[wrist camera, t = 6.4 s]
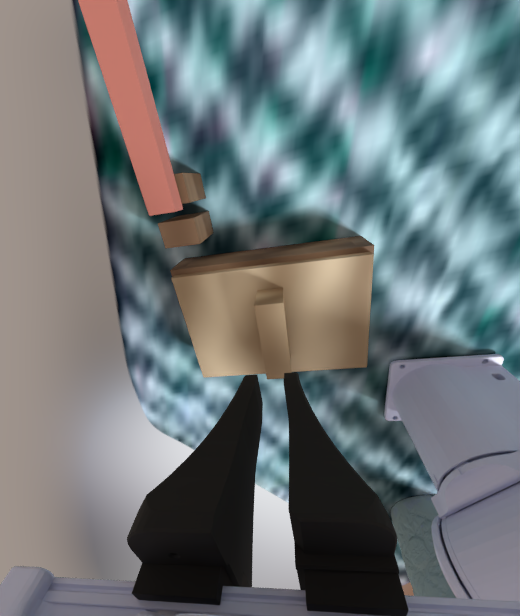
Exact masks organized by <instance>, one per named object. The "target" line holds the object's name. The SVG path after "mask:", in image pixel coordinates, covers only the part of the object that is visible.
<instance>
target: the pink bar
mask: <svg viewBox="0 0 520 616" xmlns="http://www.w3.org/2000/svg"><path fill="white" fill-rule="evenodd" d="M78 1H79V4H80V7H81V10H82V13H83V16H84V19H85V22H86V25H87V28H88V32H89V35H90V38H91V41H92V44H93V47H94V50H95V53H96V56H97V59H98V62H99V65H100V68H101V71H102V74H103V77H104V80H105V83H106V86H107V89H108V92H109V95H110V98H111V101H112V104H113V107H114V110H115V113H116V117H117V120H118V123H119V126H120V129H121V132H122V135H123V138H124V141H125V144H126V147H127V150H128V153H129V156H130V159H131V162H132V165H133V168H134V171H135V174H136V177H137V180H138V183H139V186H140V189H141V192H142V195H143V198H144V201H145V205H146V208H147V211H148V214H149V216H151V215H158V214H164V213H171V212H176V211H179V210H183V207H182V203H181V199H180V195H179V192H178V188H177V184H176V181H175V177H174V173H173V169H172V166H171V162H170V158H169V154H168V151H167V147H166V143H165V140H164V136H163V132H162V128H161V125H160V121H159V117H158V113H157V110H156V106H155V102H154V98H153V95H152V91H151V87H150V84H149V80H148V76H147V72H146V69H145V65H144V61H143V57H142V54H141V50H140V46H139V43H138V39H137V35H136V31H135V28H134V24H133V20H132V16H131V13H130V9H129V5H128V1H127V0H78Z"/></svg>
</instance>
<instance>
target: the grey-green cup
mask: <svg viewBox="0 0 520 616" xmlns="http://www.w3.org/2000/svg"><path fill="white" fill-rule="evenodd" d="M431 497H433V496H431V495H426V496H424V495H422V496H415V497H410V498H407V499H404V500H401V501H399V502H398V503H396V504H395V505H394V506H393V507H392V509H391V518H392V522H393V525H394V529H395V532H396V535H397V539H398V542H399V545H400V548H401V553H402V557H403V560H404V563H405V568H406V571H407V575H408V578H409V580H410V582H411V585H412V587H413V593H414V596H425V597H444V598H456V596H455V595H454V593H453V591H452V590H451V588H450V586H449V584H448V582H447V580H446V578H445V576H444V574H443V572H442V570H441V567H440V565H439V562H438V559H437V556H436V553H435V549H434V544H433V539H432V529H431V526H432V521H433V519H434V518H435V517H436V516H437V515H438V513H437V510H436V508H435V506H434V504H433V502H432V500H431Z"/></svg>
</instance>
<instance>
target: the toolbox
mask: <svg viewBox="0 0 520 616" xmlns="http://www.w3.org/2000/svg"><path fill="white" fill-rule="evenodd" d="M174 177H175V181H176V184H177V188H178V192H179V195H180V199H181V203H182V204H184V203H190V202H194V201H197V200H201V199H205V198H206V197H205V192H204V188H203V184H202V179H201V175H200V174H196V173H178V174H174ZM158 226H159V229H160V232H161V235H162V239H163V242H164V245H165V248H173V247H180V246H188V245H195V244H201V243H202V242H203V241H204V240H205V239H207V238H208V237H209V236H210V235H212V234H213V233H214V232H213V228H212V224H211V219H210V215H209V211H206V212H200V213H193V214H187V215H180V216H177V217H174V218H171V219H169V220H166V221H163V222H160V223H158ZM365 252H371V253H373V254H374V245H373V244H372V243H370V242H369V241H367V240H366V239H365V238H363V237H362V236H355V237H348V238H340V239H332V240H324V241H317V242H309V243H301V244H293V245H286V246H278V247H270V248H262V249H255V250H247V251H239V252H231V253H224V254H216V255H208V256H200V257H193V258H185V259H183V260H182V261H181V262H180V263H179V264H177V265H176V266H175V267H174V268H173V269H171V270H170V271H171V274H172V277H173V276H174V275H182V274H191V273H199V272H207V271H215V270H224V269H232V268H240V267H249V266H257V265H265V264H274V263H282V262H290V261H299V260H307V259H315V258H324V257H332V256H340V255H348V254H357V253H365Z"/></svg>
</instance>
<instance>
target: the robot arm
mask: <svg viewBox="0 0 520 616" xmlns="http://www.w3.org/2000/svg"><path fill="white" fill-rule="evenodd" d="M503 360H504V358H503V357H502V356H501V355H499V354H489V355H473V356H458V357H442V358H427V359H411V360H396V361H393V362H391V363H390V367H389V375H388V384H387V393H386V402H385V411H384V417H385V419H386V420H387V421H403V423H404V425H405V427H406V429H407V431H408V433H409V435H410V437H411V439H412V441H413V443H414V445H415V447H416V449H417V451H418V453H419V455H420V457H421V459H422V461H423V463H424V465H425V467H426V469H427V471H428V473H429V475H430V477H431V479H432V481H433V483H434V485H435V487H436V489H437V491H438V493H437V494H436V495H434V496H433V497H431V500H432V502H433V504H434V506H435V508H436V510H437V513H438V515H437V516H436V517H435V518H434V519H433V521H432V526H431V529H432V539H433V544H434V549H435V553H436V556H437V559H438V562H439V565H440V567H441V570H442V572H443V574H444V576H445V578H446V580H447V582H448V584H449V586H450V588H451V590H452V591H453V593H454V595H455V596H456V598H444V597H425V596H406V595H404V592H403V589H402V585H401V582H400V579H399V575H398V574H399V569H398V565H397V562H396V559H395V555H394V553H395V549H396V544H397V535H396V532H395V529H394V526H393V524H392V522H391V520H390V518H389V515H388V513H387V512H386V510H385V508H384V506H383V504H382V503H381V501H380V499H379V497H378V496H377V494H376V493H375V492H374V491H373V490H372V489H371V488H370V487H369V486H368V485H367V484H366V483H365V481H364V480H363V479H362V478H361V477H360V476H359V475H358V474H357V472H356V471H355V470H354V469H353V468H352V467H351V465H350V464H349V463H348V462H347V461H346V459H345V458H344V457H343V455H342V454H341V453H340V452H339V450H338V449H337V448H336V446H335V445H334V444H333V442H332V441H331V439H330V438H329V437H328V435H327V434H326V432H325V431H324V429H323V427H322V426H321V424H320V423H319V421H318V419H317V417H316V416H315V414H314V412H313V410H312V408H311V406H310V404H309V402H308V400H307V398H306V396H305V394H304V391H303V389H302V386H301V383H300V380H299V375H298V373H296V372H294V373H284V388H285V395H286V403H287V410H288V418H289V513H290V519H291V524H292V530H293V535H294V541H295V564H296V569H297V573H298V577H299V583H300V588H301V590H292V589H273V588H254V587H252V543H253V512H254V487H255V472H256V463H257V456H258V448H259V441H260V434H261V426H262V405H263V402H262V397H261V392H260V387H259V382H258V377H257V375H246V376H245V377H244V378H243V381H242V383H241V384H240V386H239V388H238V390H237V392H236V394H235V396H234V397H233V399H232V401H231V402H230V404H229V406H228V407H227V409H226V410H225V412H224V413H223V415H222V416H221V418H220V419H219V421H218V422H217V424H216V425H215V426H214V428H213V429H212V430H211V432H210V433H209V434H208V435H207V437H206V438H205V439H204V440H203V441H202V443H201V444H200V445H199V446H198V447H197V448H196V450H195V451H194V452H193V453H192V454H191V455H190V456H189V457H188V458H187V459H186V460H185V461H184V462H183V463H182V464H181V465H180V466H179V467H178V468H177V469H176V470H175V471H174V472H173V473H172V474H171V475H170V476H169V477H167V478H166V479H165V480H164V481H163V482H162V483H160V484H159V485H158V486H157V487H156V488H155V489H153V490H152V491H151V492H150V493H149V494H147V496H146V498H145V500H144V501H143V503H142V505H141V507H140V509H139V511H138V514H137V516H136V518H135V520H134V523H133V525H132V527H131V530H130V532H129V535H128V537H127V542H128V545H129V547H130V548H131V550H132V551H133V552H134V553H135V554H136V556H137V557H138V558H139V559H140V560H141V562H142V566H141V568H140V571H139V574H138V577H137V580H136V581H120V580H101V579H82V578H64V577H54V575H53V574H52V573H51V572H50V571H48V570H47V569H44V568H40V567H26V566H14V567H13V568H12V569H11V570H10V572H9V573H8V574H7V576H6V577H5V579H4V580H3V582H2V583H1V584H0V616H520V381H519V380H518V379H517V378H515V377H514V376H513V375H512V374H511V373H510V372H508V371H507V370H506V369H505V368H504V367H503V366H502V363H503ZM400 365H402V366H400Z"/></svg>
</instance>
